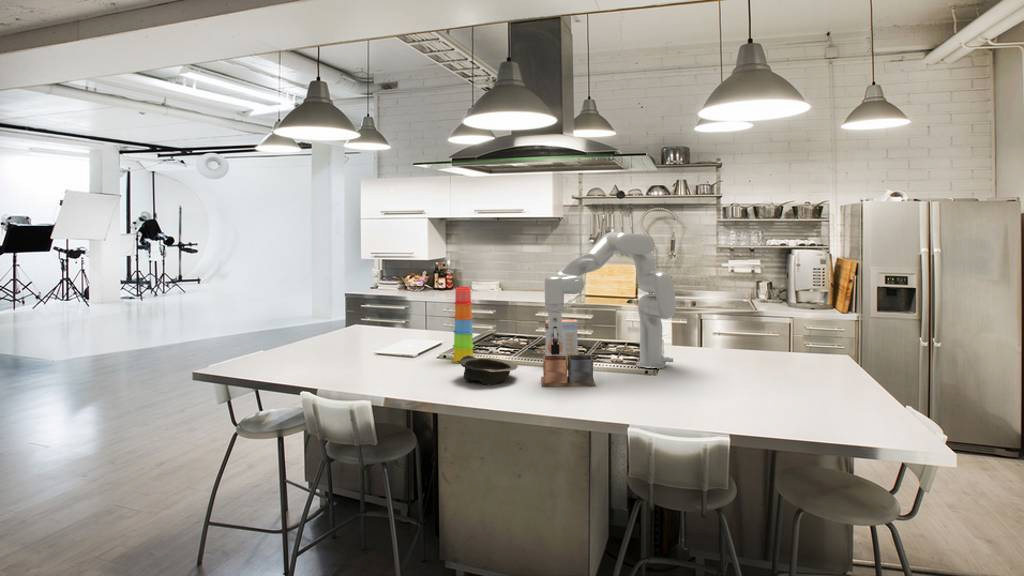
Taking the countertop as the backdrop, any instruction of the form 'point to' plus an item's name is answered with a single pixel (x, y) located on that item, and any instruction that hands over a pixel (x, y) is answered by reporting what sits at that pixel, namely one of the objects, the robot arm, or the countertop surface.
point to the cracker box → (565, 338)
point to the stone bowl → (486, 369)
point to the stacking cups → (463, 324)
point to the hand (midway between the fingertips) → (555, 352)
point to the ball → (550, 346)
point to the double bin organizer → (577, 371)
